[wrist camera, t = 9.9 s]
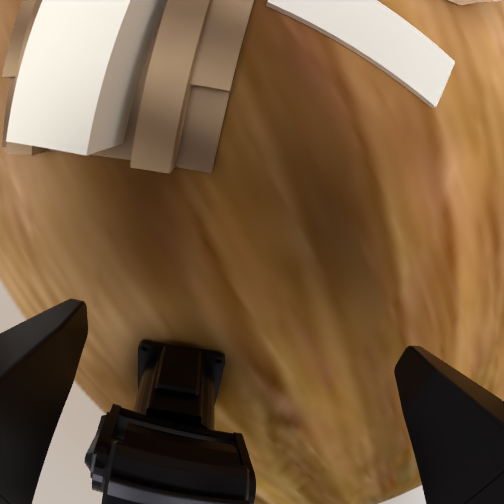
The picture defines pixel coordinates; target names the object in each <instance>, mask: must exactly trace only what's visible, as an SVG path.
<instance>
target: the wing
mask: <svg viewBox="0 0 504 504" xmlns="http://www.w3.org/2000/svg"><path fill="white" fill-rule="evenodd" d="M266 6H267V7H270V8H272V9H274V10H276V11H278V12H281V13H283V14H285V15H287V16H289V17H291V18H293V19H295V20H297V21H299V22H301V23H303V24H305V25H307V26H309V27H311V28H313V29H315V30H317V31H319V32H321V33H322V34H324V35H326V36H328V37H330V38H331V39H333V40H335V41H337V42H338V43H340V44H342V45H343V46H345V47H347V48H348V49H350V50H352V51H353V52H355V53H356V54H358V55H360V56H361V57H363V58H364V59H366V60H367V61H369V62H370V63H372V64H373V65H375V66H376V67H378V68H379V69H381V70H382V71H384V72H385V73H386V74H388V75H389V76H391V77H392V78H393V79H395V80H396V81H398V82H399V83H400V84H402V85H403V86H404V87H406V88H407V89H408V90H410V91H411V92H412V93H413V94H415V95H416V96H417V97H419V98H420V99H421V100H422V101H423V102H425V103H426V104H427V105H428V106H430V107H436V106H437V104H438V102H439V99H440V97H441V95H442V93H443V90H444V88H445V85H446V83H447V81H448V78H449V76H450V73H451V71H452V68H453V66H454V63H455V61H454V60H453V59H451V58H450V57H449V56H448V55H447V54H446V53H445V52H444V51H443V50H441V49H440V48H439V47H438V46H437V45H436V44H435V43H433V42H432V41H431V40H430V39H429V38H427V37H426V36H425V35H424V34H422V33H421V32H420V31H419V30H417V29H416V28H415V27H414V26H412V25H411V24H410V23H408V22H407V21H406V20H404V19H403V18H402V17H400V16H399V15H397V14H396V13H395V12H393V11H392V10H390V9H389V8H388V7H386V6H385V5H383V4H382V3H380V2H379V1H377V0H268V1H267V4H266Z"/></svg>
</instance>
